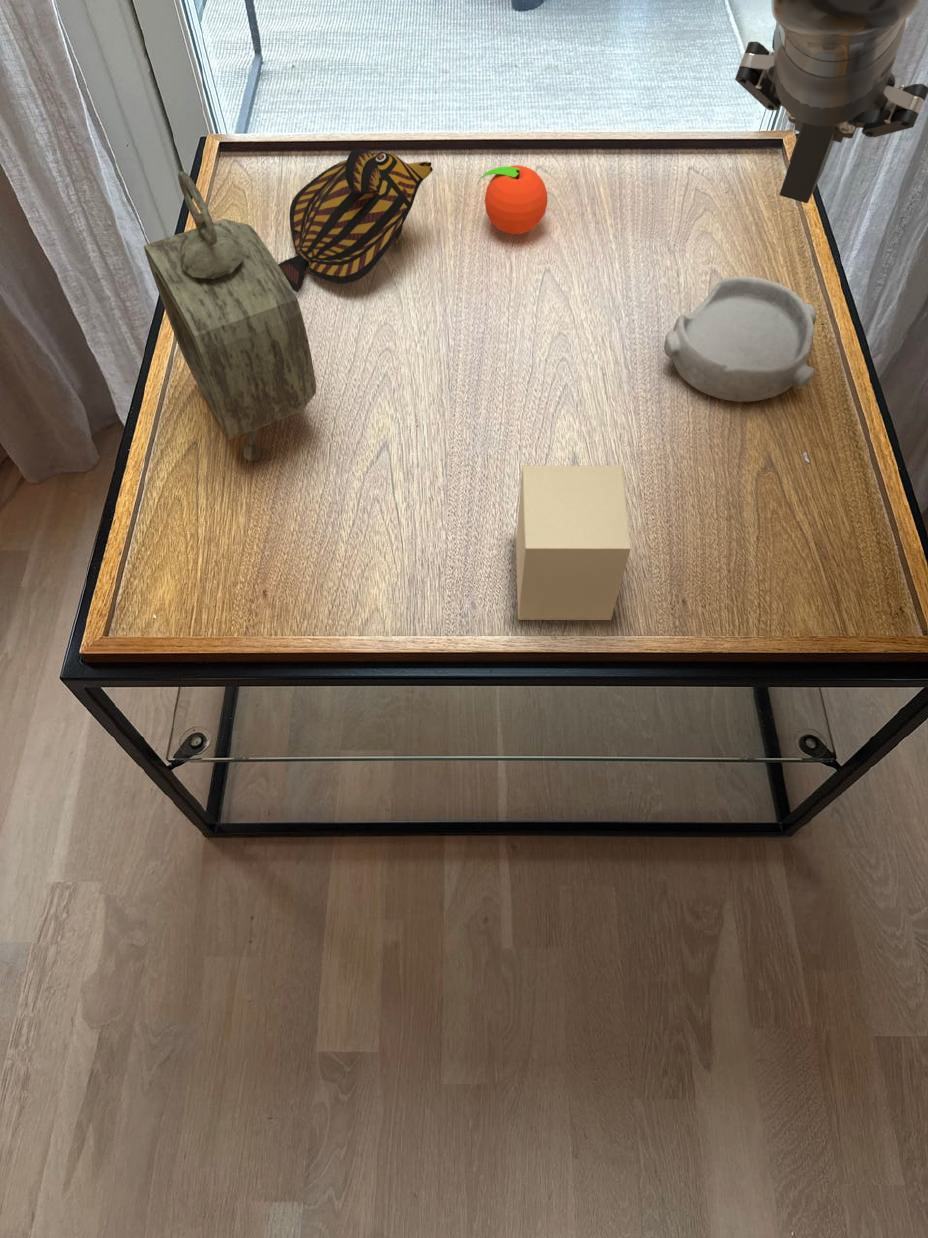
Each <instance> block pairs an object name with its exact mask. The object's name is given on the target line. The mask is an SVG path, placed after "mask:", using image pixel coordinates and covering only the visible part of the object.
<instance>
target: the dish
mask: <svg viewBox="0 0 928 1238" xmlns="http://www.w3.org/2000/svg"><path fill="white" fill-rule="evenodd" d="M816 320H817V313H816V309H815V307H814V306H813V304H811V303H806V304H805V302H804V301H803V300H802V298H801V297H800V296H799V295H798V294H797V293H796V292H795V291H794V290H792V289H791V288H790V287H787V286H785V285H784V284H781V283H778V282H776V281H772V280H769V279H765V278H763V277H762V278H761V277H757V276H748V275H744V276H743V275H742V276H727V277H723V278H721V279H720V280H719V281H718V282H717V283H716V284H715V285H714V286H713V287H712V289H711V291H710V292H709V294H708V295H707V296H706V297H705V298H704V300H703V301H702V302H701V303H700V304H699V305H698V306H697V308H695V309H694V311H692V312H691V313H690V314H688V315H687V316H686V315H685V314H680V315H679V316H678V317H677V318H676V320H675V323H674V326H673V331H670V332H669V331H668V332H667V333H666V336H665V340H664V346H663V351H664V353H665V355H666V356H667V357H668V358H672V362H673V364H674V367H675V369H676V372H678V374H679V375H680V376H681V378H682V379H683V380H684V381H686V382H687V384H689V385H690V386H691V387H693V388H694V389H696V390H697V391H700V392H701V393H703V394H706V395H708V396H710V397H714V398H717V399H720V400H725V401H732V402H744V403H745V402H757V401H762V400H767V399H771V398H774V397H776V396H779V395H781V394H783V393H785V392H786V391H788V390H789V389H790V388H791V387H794V388H795V389H801V388H803V387H805V386H807V385H808V384H810V382H811V381H812V378H813V376H814V373H815V368H814V367H813V366H809V365H807V361H808V358H809V355H810V352H811V350H812V346H813V342H814V335H815V324H816Z"/></svg>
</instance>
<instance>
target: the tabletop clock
mask: <svg viewBox="0 0 928 1238" xmlns="http://www.w3.org/2000/svg"><path fill="white" fill-rule="evenodd" d="M177 178H178V179H177V180H178V183H179V188H180V190H181V193H182V196H183V198H184V201H185V204H186V206H187V209H188V211H189V213H190V215H191V217H192V220H193V222H194V225H195V228H192V229H190V230H186V231H184V232H181V233H177V234H174V235H172V236H168V237H166V238H162V239H158V240H157V241H154V242H150V243H147V244H144V245H143V249H144V253H145V257H146V259H147V262H148V265H149V268H150V271H151V274H152V277H153V280H154V283H155V286H156V288H157V291H158V292H157V293H158V294H159V298H160V299H161V303H162V305H163V308H164V311H165V314H166V316H167V319H168V321H169V324H170V326H171V329H172V332H173V334H174V337H175V340H176V343H177V344H178V347H179V350H180V352H181V355H182V356H183V358H184V361H185V363H186V364H187V367H188V369H189V371H190V373H191V375H192V377H193V378H194V380H195V383H196V384H197V386H198V388H199V390H200V392H201V394H202V395H203V397H204V400H205V402H206V403H207V405H208V407H209V408H210V410H211V412H212V414H213V416H214V417H215V419H216V421H217V424H218V425H219V427H220V429H221V431H222V432H223V433H224V436H225V437H226V438H227V439H228V441H230V440H233V439H235V438H238V437H241V436H243V435H245V434H248V444H247V445H245V446H244V448H243V457H244V458H245V459H246V460H247V461H249V462H256V461H257V460H258V459H259V458H260V457H261V454H262V453H261V448H260V447H259V446H258V445H256V439H257V432H258V429H260V428H263V427H265V426H268V425H271V424H273V423H276V422H279V421H280V420H284V419H286V418H288V417H290V416H293V415H296V414H298V413H301V412H303V411H304V410H305V408H306V407H307V406H308V404H309V403H310V402H311V400H312V399H313V397H314V396H315V395H316V393H317V381H316V375H315V370H314V363H313V357H312V351H311V348H310V344H309V338H308V334H307V329H306V325H305V321H304V317H303V313H302V309H301V306H300V304H299V300H298V297H297V295H296V293H295V290H293V289H292V287H291V285H290V284H289V282H288V280H287V279H286V277H285V275H284V274H283V272H282V271H281V269H280V267H279V266H278V264H279V263H278V262H277V261H276V259H275V258H274V256H273V255H272V253H271V252H270V250H269V249H268V247H267V246H266V244H265V243H264V241H263V240H262V238H261V237H260V236H259V234H258V233H257V232H256V230H255V229H254V228H253V226H252V225H250V224H247V223H244V222H239V221H235V220H231V219H226V218H223V219H222V218H221V219H219V220H216V221H213V219H212V215H211V214H210V211H209V209H208V206H207V204H206V202H205V200H204V198H203V196H202V194H201V192H200V190H199V189H198V186H197V185H196V183H195V182H194V180H193V179H192V178H191V177H190V175H189V174H188V173H187V172H185V171H179V172H178V175H177ZM193 200H194V201H193ZM197 208H198V209H197Z"/></svg>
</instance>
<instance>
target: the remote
mask: <svg viewBox="0 0 928 1238" xmlns="http://www.w3.org/2000/svg"><path fill="white" fill-rule="evenodd" d="M836 128H837V127H836V126H833V125H830V126H815V125H810V124H807V123H804V122H803V123H802V125H801V128H800V131H798V133H797V134H798V135H797V137H796V141H795V143H794V147H793V149H792V152H791V155H790V159H789V161H788V163H789V164H788V167H787V171H786V173H785V176H784V179H783V182H782V185H781V188H780V191H779V194H778V195H779V196H780V197H783V198H787V199H790V200H794V201H797V202H800V203H803V204H808V203H809V201H810V200H811V197H812V196H813V193H814V191H815V188H816V187H817V185H818V182H819V180H820V178H821V176H822V174H823V172H824V169H825V167H826V164H827V161H828V159H829V156H830V154H831V151H832V148H833V147H834V143H835V141H833V140H834V136H835V131H836Z"/></svg>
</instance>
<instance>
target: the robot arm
mask: <svg viewBox="0 0 928 1238" xmlns="http://www.w3.org/2000/svg"><path fill="white" fill-rule="evenodd" d="M770 3H771V5H770V6H771V14H772V17H773V18H774V20H775V28H774V31H773V35H772V44H771V46H772V47H771V48H772V50H769V49H767V48H766V47H765V46H764V45H763V44H762V43H761V42H759V41H749V42H748V43H747V45H746V46H747V47H746V48H745V51H744V53H743V56H742V58H741V60H740V63H739V66H738V69H737V72H736V75H735V78H734V80H735V82H737V83H738V84H739V85H740V86H741V87H742V88H743V89H744V90H745V91H746V92H748V93H749V94H750V95H751V96H752V97H753V98H754V99H755V100H756V101H757V102H758V103H760V105H762V106H763V107H764V108H765V109H766V110H768V111H778V110H779V109H780V107H783V108H784V109H785V116H787V117H788V118H787V120H788V121H789V123H791V124H793V125H794V131H796V132H799V131H800V128H801V125H802V123H803V122H804V123H807V124H810V125H815V126H830V125H833V126H836V127H837V128H836V131H835V136H834V140H833V141H834V142H835V143H840V144H841V143H842V142H843V140H844V138H845V139H849V140H850V139H853V138H854V136H855V133H856V131H857V129H858V128H859V129H862V130H861V134H862V135H864V136H865V137H867V138H877V137H881V136H885V135H889V134H893V133H897V132H901V131H905V130H909V129H913V128H914V127H915V125H916V122H917V120H918V118H919V116H920V113H921V111H922V108H923V106H924V104H925V102H926V99H927V97H928V86H927V85H925V84H923V83H914V84H910V85H908V86H906V85H905V84H899V86H898V87H897V86H896V77H895V75H894V74H893V72H892V70H893V67H894V64H895V62H896V59H897V55H898V53H899V49H900V47H901V43H902V40H903V37H904V33H905V30H906V25H907V19H908V18H909V17H911V16H912V14H913V13H914V12H915V11H916V10H917V8H918V6H919V4H920V3H921V0H770Z"/></svg>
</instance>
